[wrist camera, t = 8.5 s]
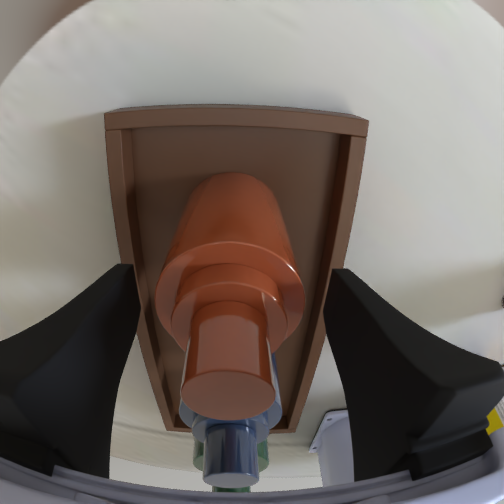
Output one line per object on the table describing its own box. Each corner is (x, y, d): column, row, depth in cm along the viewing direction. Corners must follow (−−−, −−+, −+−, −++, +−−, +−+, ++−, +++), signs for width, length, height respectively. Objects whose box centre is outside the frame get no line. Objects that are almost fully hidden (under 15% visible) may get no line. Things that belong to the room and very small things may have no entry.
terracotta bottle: (276, 261, 18) (308, 437, 9) (186, 259, 18) (149, 434, 9) (284, 173, 15) (350, 326, 6) (181, 171, 15) (106, 322, 6)
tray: (292, 414, 27) (295, 432, 26) (169, 412, 27) (166, 430, 25) (353, 114, 14) (369, 120, 13) (119, 108, 14) (103, 113, 12)
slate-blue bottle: (267, 348, 21) (282, 493, 12) (194, 347, 21) (180, 492, 12) (274, 290, 19) (299, 459, 10) (188, 289, 19) (162, 458, 10)
